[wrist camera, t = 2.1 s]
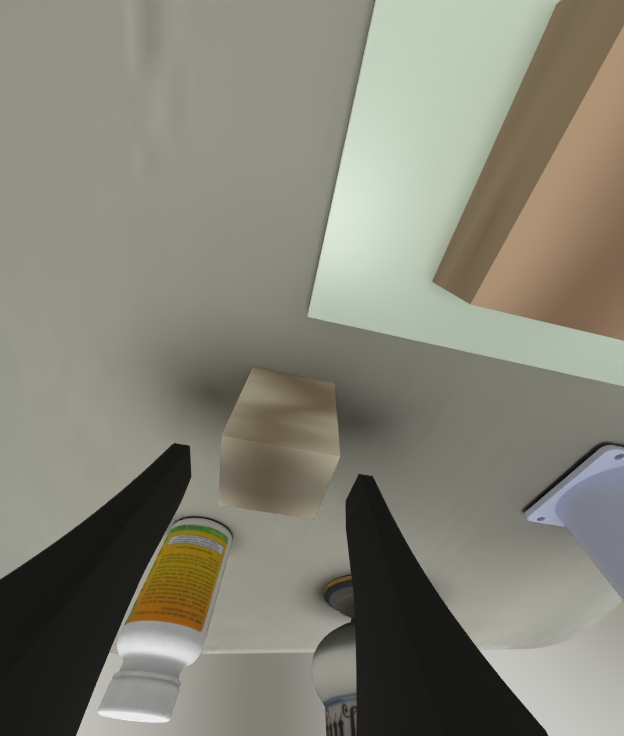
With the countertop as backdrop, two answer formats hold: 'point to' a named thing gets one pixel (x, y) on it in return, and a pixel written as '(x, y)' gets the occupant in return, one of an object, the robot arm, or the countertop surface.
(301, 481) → the maple brick
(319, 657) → the apothecary jar
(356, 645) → the robot arm
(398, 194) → the baseplate
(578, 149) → the base block
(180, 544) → the supplement bottle
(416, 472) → the countertop surface
